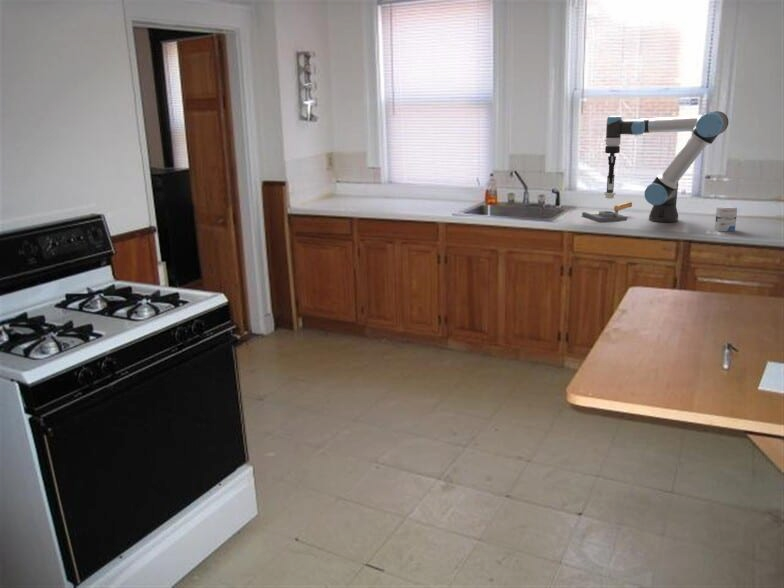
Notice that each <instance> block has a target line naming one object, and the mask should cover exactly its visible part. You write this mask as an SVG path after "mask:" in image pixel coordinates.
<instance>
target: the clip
mask: <svg viewBox="0 0 784 588" xmlns="http://www.w3.org/2000/svg"><path fill="white" fill-rule="evenodd" d="M632 207H633V201H627V202H625V203H624V202H623V203H621V204H616V205H614V207H613V212H615V211H618V212H619V211H622V210H624V209H628V208H632Z"/></svg>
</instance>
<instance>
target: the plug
mask: <svg viewBox="0 0 784 588" xmlns="http://www.w3.org/2000/svg"><path fill="white" fill-rule="evenodd" d="M606 178H607V177H606ZM614 187H615V176H614V177H613V190H608V178H607V181H606V191H605V192H603V194H604V195H605V199H614V198H615V195H616V191H614Z"/></svg>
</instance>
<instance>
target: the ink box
mask: <svg viewBox="0 0 784 588" xmlns="http://www.w3.org/2000/svg"><path fill="white" fill-rule="evenodd" d="M737 214H738V208H737V207H735V206H717V207H716V212H715V222H714V230H715V231H717V230H718V232H734V231H735V230H736V222H737Z"/></svg>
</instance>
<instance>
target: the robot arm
mask: <svg viewBox="0 0 784 588" xmlns="http://www.w3.org/2000/svg"><path fill="white" fill-rule="evenodd" d="M729 122H730V121H729V118H728V116H727V115H726V114H725V112H722V111H720V110H719V111H718V110H717V111H708V112H705V113H701V114H700V115H694V116H693V115H690V116H674V117H673V116H672V117H653V118H652V117H651V118H646V117H645V118H644V117H643V118H642V117H641V118H638V119H622V116H621V115H610V116H608V117H607V118H606V131H605V135H606V136H605V139H604V142H605V145H606V146H605V147H604V149H605V150H604V153H605V154H609V156H608V157H607V158H608V159H607V161H608V173H607V174H608V175H607V177H606V178H608V190H613V177H614V178H615V165H616V159H617V156H615V154H619V153H620V150H621V146H620V145H621V137H622V136H621V135H627V136H628V135H634V136H638V135H643V134H650V133H677V132H679V133H680V132H690V133H691V136H690V138H689V139H688V140H687V141H686V142H685V144H684V145H683V146H682V148H681V149H680V151H679V152H678V153H677V155H676V156H675V157H674V158H673V159H672V161H671V162H670V164H669V165H668V166H667V167H666V169H665V170H664V172H663V173H662V174H657V176H656V177H655V179H654V180H653V181H652V183H650V184H649V185H647V186H646V188H645V190H644V198H645V200H646V202H647V203H648V204H650V205H651V206H652V208H651V211H650V213H649V215H648V220H649V221H652V222H657V223H676V222H678V221H679V213H678V209H677V200H678V192H679V190H678V189H679V181H680V180H681V178H682V177H683V176H684V175H685V173H686V172H687V171H688V169H689V168H690V167H691V165H692V164H693V163H694V162H695V160H696V159H697V158H698V157H699V156H700V154H701V153H702V151H703V150H704V149H705V148H706V147H707V146H708V145H711V144H713V142H714V141H715V140H716V138H717V137H719V135H720V134H722V133H724V132H725V131H726V130H727V128H728V127H729Z"/></svg>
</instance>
